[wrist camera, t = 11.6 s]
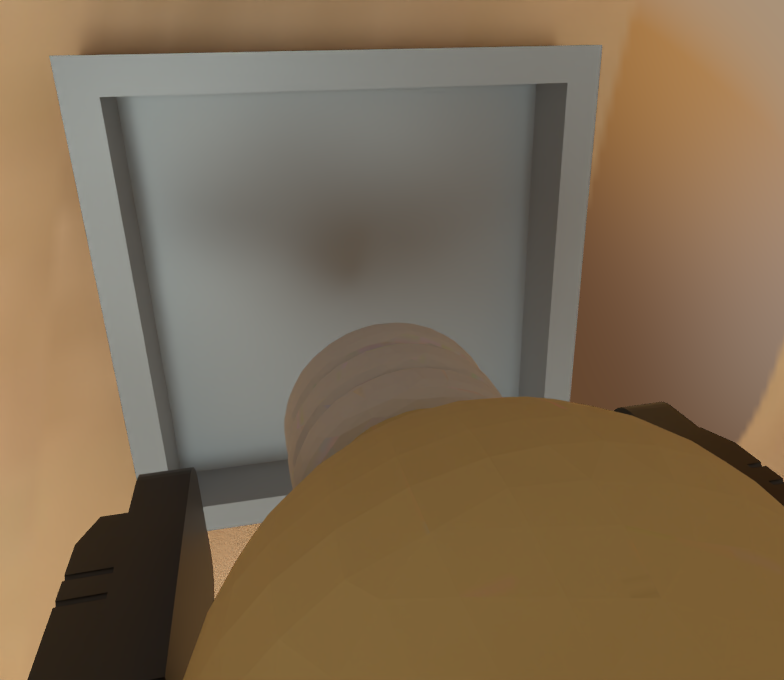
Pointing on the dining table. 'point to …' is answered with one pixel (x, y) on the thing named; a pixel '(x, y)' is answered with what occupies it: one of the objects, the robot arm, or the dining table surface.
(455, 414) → the light bulb
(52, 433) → the dining table surface
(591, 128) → the tray
